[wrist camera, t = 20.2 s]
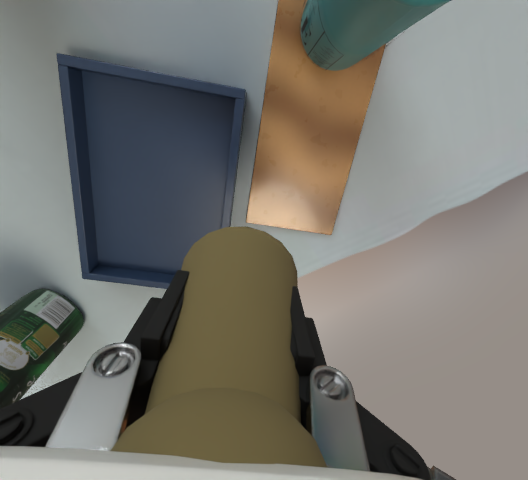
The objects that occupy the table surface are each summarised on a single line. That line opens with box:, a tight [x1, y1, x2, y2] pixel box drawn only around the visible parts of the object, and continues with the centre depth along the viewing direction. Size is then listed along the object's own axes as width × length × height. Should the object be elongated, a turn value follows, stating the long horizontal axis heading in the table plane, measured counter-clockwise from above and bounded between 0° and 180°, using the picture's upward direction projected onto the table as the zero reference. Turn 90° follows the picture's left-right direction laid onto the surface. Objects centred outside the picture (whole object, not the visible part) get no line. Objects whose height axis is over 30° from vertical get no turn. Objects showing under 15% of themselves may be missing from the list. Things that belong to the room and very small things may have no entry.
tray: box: [57, 53, 247, 289], centre depth 27 cm, size 22×16×2 cm
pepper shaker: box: [111, 227, 327, 468], centre depth 9 cm, size 6×6×11 cm
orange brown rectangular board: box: [246, 0, 386, 235], centre depth 26 cm, size 23×10×1 cm, turn 171°
